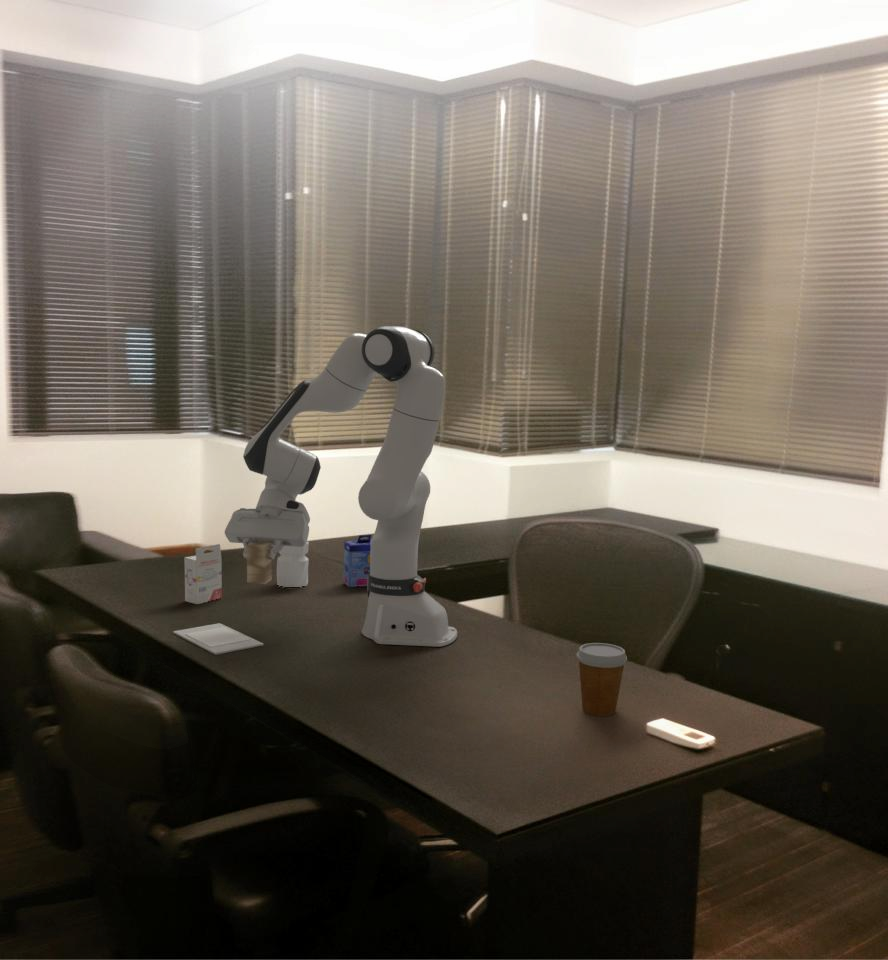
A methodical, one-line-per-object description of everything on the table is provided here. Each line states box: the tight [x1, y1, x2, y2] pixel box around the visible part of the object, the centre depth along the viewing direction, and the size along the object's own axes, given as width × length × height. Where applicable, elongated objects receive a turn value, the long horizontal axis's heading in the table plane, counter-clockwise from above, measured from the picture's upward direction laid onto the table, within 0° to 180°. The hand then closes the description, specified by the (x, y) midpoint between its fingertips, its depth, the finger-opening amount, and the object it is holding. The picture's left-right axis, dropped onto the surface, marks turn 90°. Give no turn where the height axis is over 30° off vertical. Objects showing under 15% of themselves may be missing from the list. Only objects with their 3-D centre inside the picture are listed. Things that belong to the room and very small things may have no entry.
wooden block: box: [246, 542, 273, 585], centre depth 242 cm, size 4×4×9 cm
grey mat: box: [172, 622, 264, 656], centre depth 232 cm, size 20×12×1 cm, turn 41°
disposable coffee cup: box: [576, 642, 628, 717], centre depth 194 cm, size 10×10×12 cm
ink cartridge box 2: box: [342, 534, 372, 588], centre depth 287 cm, size 10×6×14 cm, turn 115°
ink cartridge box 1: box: [183, 543, 223, 605], centre depth 265 cm, size 9×5×15 cm, turn 143°
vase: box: [276, 540, 310, 588], centre depth 284 cm, size 9×9×12 cm
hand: (258, 557), depth 241 cm, fingers closed on wooden block, 4 cm apart
